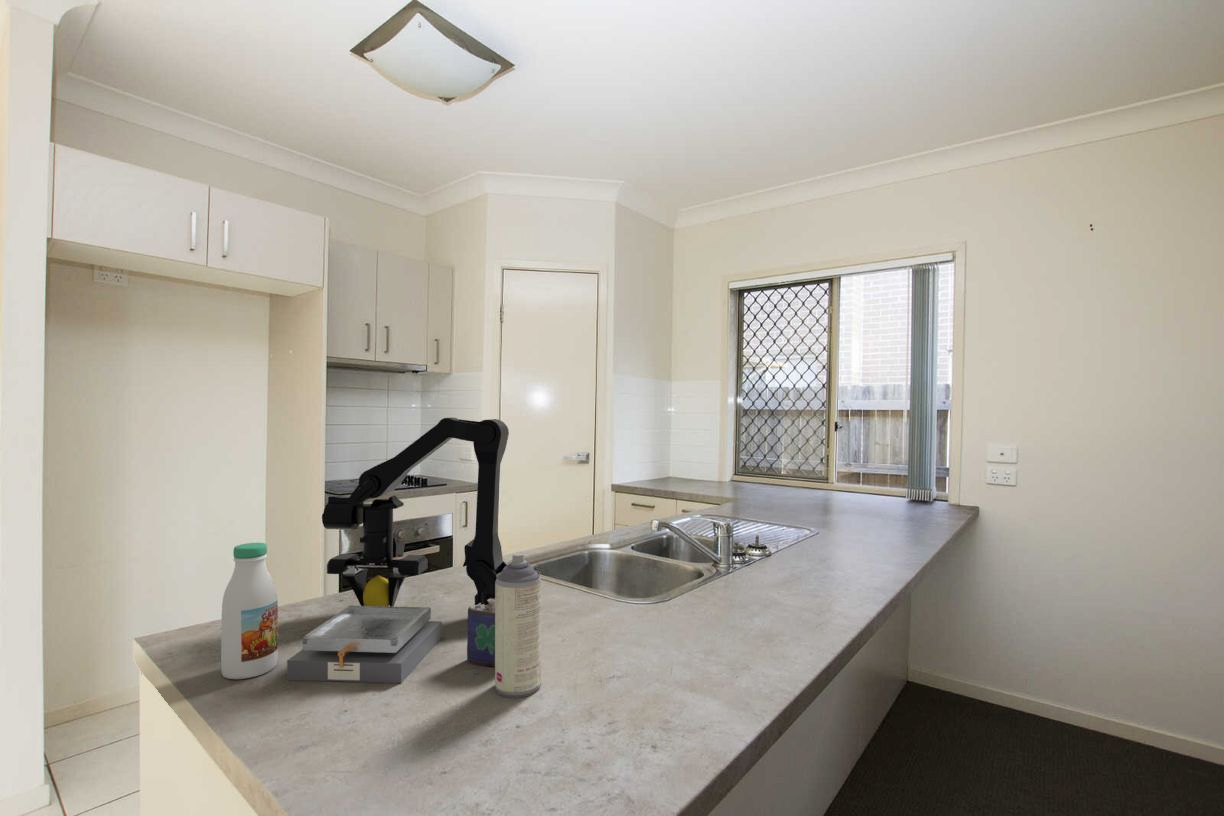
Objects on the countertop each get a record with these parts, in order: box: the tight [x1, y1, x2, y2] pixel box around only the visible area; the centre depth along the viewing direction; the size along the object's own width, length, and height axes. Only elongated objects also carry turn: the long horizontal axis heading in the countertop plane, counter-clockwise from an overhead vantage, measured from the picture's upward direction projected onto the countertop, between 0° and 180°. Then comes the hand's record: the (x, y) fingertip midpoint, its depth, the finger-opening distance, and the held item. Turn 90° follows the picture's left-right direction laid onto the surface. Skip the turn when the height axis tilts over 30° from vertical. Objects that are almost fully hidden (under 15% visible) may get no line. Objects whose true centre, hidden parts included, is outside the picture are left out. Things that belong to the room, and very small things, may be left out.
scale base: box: [286, 620, 443, 684], centre depth 100 cm, size 18×18×3 cm
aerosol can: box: [494, 552, 542, 699], centre depth 90 cm, size 7×7×20 cm
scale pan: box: [301, 605, 432, 668], centre depth 99 cm, size 15×17×4 cm
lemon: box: [363, 574, 390, 607], centre depth 121 cm, size 6×6×8 cm
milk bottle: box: [220, 542, 279, 680], centre depth 95 cm, size 8×8×20 cm
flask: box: [466, 598, 495, 668], centre depth 98 cm, size 9×3×11 cm, turn 74°
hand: (377, 606), depth 121 cm, fingers closed on lemon, 5 cm apart
